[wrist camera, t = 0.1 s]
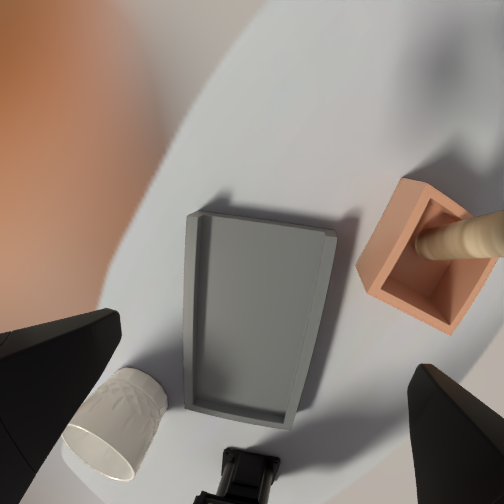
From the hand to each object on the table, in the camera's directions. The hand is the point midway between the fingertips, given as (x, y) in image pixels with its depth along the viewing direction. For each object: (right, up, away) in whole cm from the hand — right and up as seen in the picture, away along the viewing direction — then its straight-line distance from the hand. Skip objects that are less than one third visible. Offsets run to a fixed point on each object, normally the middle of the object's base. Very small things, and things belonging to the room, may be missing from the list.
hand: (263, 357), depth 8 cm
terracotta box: (+12, +3, +12) cm, 17 cm away
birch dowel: (+13, +5, +11) cm, 18 cm away
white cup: (-12, -12, +22) cm, 28 cm away
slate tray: (0, -3, +17) cm, 17 cm away
